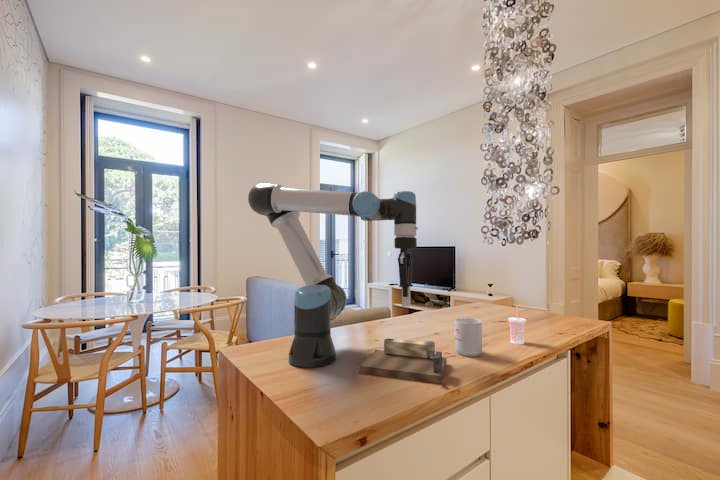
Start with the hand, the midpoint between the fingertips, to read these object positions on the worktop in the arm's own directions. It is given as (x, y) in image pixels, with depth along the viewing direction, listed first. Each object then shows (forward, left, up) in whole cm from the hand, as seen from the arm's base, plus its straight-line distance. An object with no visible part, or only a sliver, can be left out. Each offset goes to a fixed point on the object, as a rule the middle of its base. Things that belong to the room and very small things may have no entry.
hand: (406, 306), depth 113 cm
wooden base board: (+2, -13, -16) cm, 21 cm away
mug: (+19, +10, -17) cm, 27 cm away
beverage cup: (+37, +29, -17) cm, 50 cm away
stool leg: (+2, -7, -14) cm, 16 cm away
